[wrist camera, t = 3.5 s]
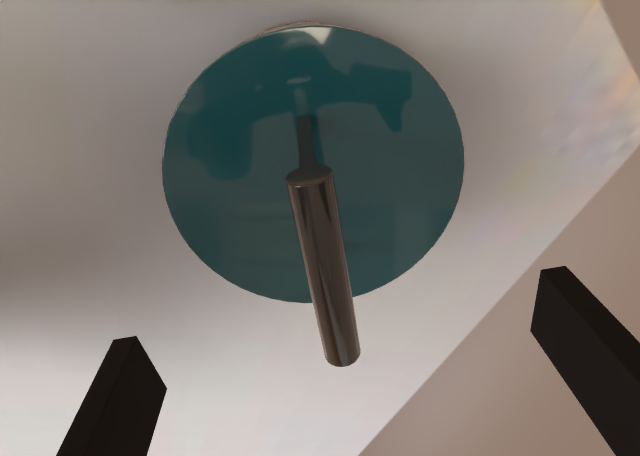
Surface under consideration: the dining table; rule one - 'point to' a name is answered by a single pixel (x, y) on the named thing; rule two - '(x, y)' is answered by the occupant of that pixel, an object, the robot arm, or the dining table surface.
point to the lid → (313, 169)
